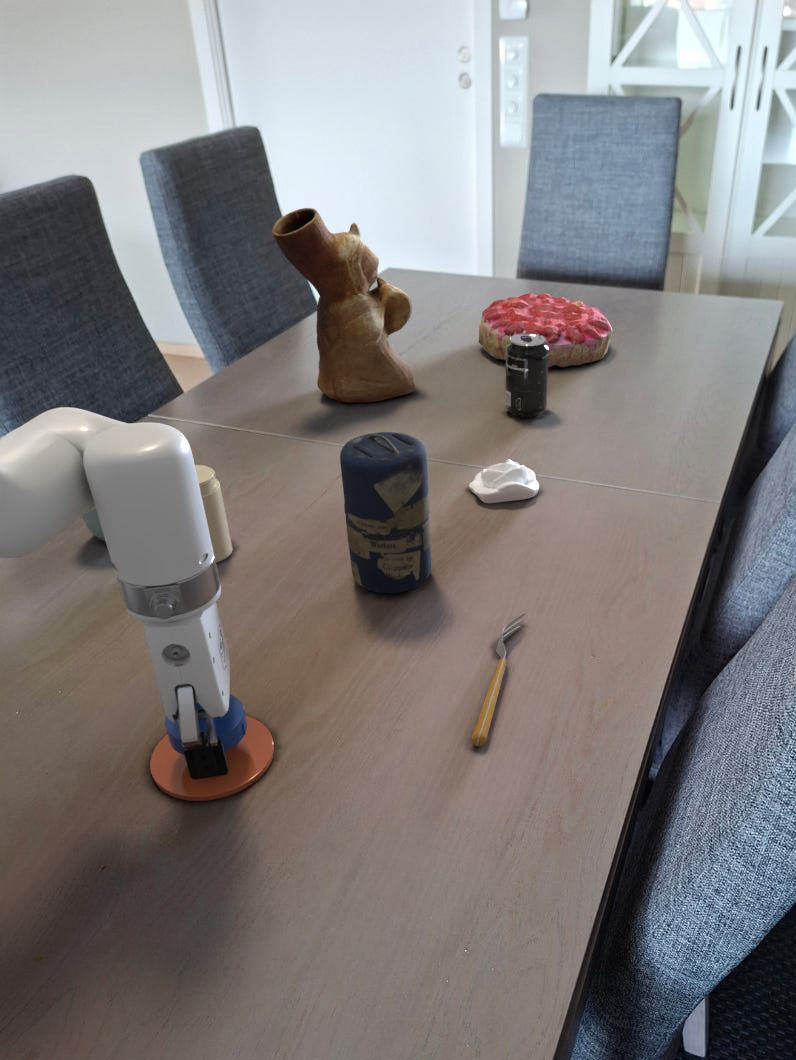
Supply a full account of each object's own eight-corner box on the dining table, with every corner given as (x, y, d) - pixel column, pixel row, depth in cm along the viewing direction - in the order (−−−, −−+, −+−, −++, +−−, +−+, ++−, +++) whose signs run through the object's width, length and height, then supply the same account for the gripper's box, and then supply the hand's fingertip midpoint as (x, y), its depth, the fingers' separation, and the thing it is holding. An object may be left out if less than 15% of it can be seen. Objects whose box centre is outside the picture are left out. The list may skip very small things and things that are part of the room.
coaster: (146, 810, 77) (144, 805, 77) (156, 726, 86) (155, 721, 86) (275, 790, 79) (274, 785, 79) (273, 710, 88) (272, 705, 88)
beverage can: (537, 401, 152) (539, 330, 145) (552, 416, 146) (556, 343, 139) (499, 406, 150) (499, 334, 143) (513, 422, 145) (514, 347, 138)
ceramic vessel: (432, 394, 155) (424, 204, 137) (316, 424, 145) (292, 223, 127) (386, 368, 165) (374, 189, 148) (276, 394, 155) (248, 205, 138)
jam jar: (178, 568, 109) (159, 489, 103) (181, 542, 114) (163, 465, 108) (232, 562, 110) (216, 484, 104) (233, 536, 116) (218, 460, 109)
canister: (366, 607, 102) (351, 461, 92) (342, 567, 109) (326, 427, 99) (444, 588, 105) (439, 445, 95) (416, 550, 112) (408, 413, 102)
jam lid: (258, 710, 83) (255, 694, 82) (231, 761, 78) (228, 745, 77) (187, 704, 84) (183, 688, 83) (156, 754, 78) (151, 737, 77)
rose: (513, 484, 117) (453, 466, 122) (512, 515, 120) (454, 495, 124) (553, 457, 124) (495, 441, 128) (552, 486, 126) (495, 469, 131)
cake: (471, 324, 182) (473, 284, 177) (592, 324, 185) (597, 285, 180) (485, 375, 163) (487, 331, 158) (619, 374, 166) (626, 332, 161)
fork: (491, 738, 82) (525, 611, 98) (471, 732, 82) (509, 606, 98) (484, 756, 84) (519, 628, 99) (465, 750, 84) (503, 623, 99)
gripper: (214, 637, 65) (254, 809, 76) (220, 523, 79) (253, 682, 89) (106, 651, 64) (161, 823, 74) (131, 533, 78) (175, 692, 88)
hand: (211, 745), depth 82 cm, fingers closed on jam lid, 6 cm apart
